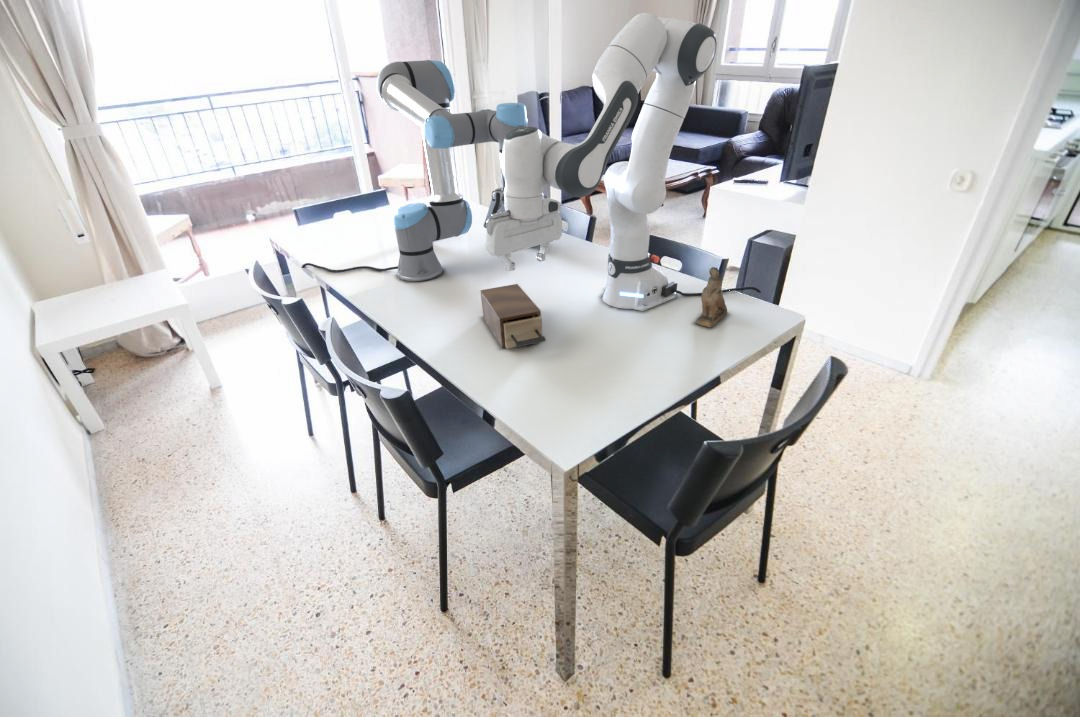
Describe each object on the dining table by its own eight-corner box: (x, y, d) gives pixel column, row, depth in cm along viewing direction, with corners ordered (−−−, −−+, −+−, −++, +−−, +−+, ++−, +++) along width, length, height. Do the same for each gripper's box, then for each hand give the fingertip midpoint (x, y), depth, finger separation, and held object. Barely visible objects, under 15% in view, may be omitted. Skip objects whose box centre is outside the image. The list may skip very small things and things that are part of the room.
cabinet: (541, 340, 132) (540, 310, 128) (502, 348, 129) (499, 318, 125) (519, 310, 148) (517, 283, 143) (483, 317, 145) (480, 290, 140)
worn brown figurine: (709, 335, 136) (713, 280, 124) (691, 329, 139) (693, 274, 128) (730, 313, 142) (736, 258, 130) (712, 307, 145) (716, 253, 133)
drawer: (549, 350, 126) (549, 326, 122) (512, 358, 123) (511, 334, 119) (520, 313, 144) (519, 291, 141) (488, 319, 142) (485, 297, 138)
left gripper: (479, 178, 122) (487, 260, 133) (562, 164, 133) (563, 241, 144) (465, 173, 128) (474, 253, 139) (546, 161, 139) (548, 235, 150)
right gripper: (494, 218, 104) (498, 280, 111) (566, 201, 115) (565, 258, 122) (477, 212, 108) (482, 272, 115) (548, 196, 119) (549, 252, 126)
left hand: (519, 247), depth 142 cm, fingers open, 13 cm apart
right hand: (526, 265), depth 119 cm, fingers open, 8 cm apart
